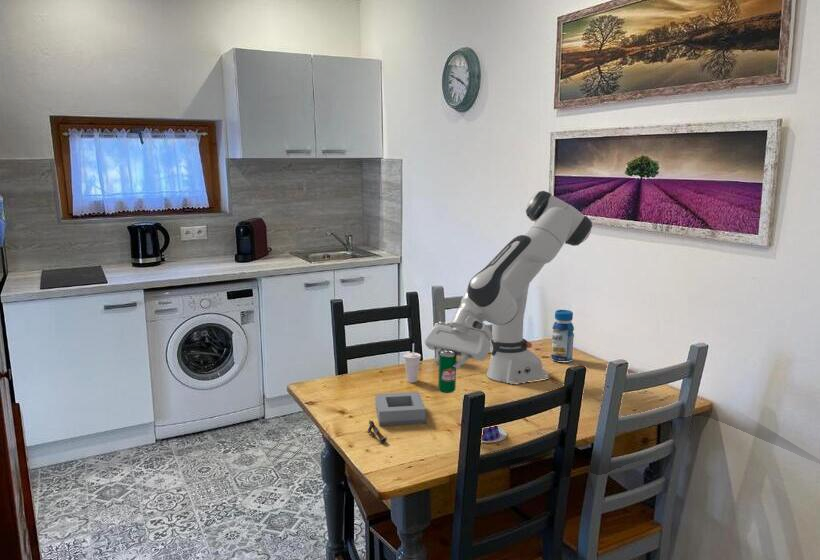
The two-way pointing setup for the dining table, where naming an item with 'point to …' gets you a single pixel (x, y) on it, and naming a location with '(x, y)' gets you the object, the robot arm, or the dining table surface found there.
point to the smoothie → (412, 365)
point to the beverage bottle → (562, 336)
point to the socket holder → (400, 408)
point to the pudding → (493, 434)
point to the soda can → (447, 371)
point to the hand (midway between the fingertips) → (446, 366)
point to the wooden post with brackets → (381, 437)
